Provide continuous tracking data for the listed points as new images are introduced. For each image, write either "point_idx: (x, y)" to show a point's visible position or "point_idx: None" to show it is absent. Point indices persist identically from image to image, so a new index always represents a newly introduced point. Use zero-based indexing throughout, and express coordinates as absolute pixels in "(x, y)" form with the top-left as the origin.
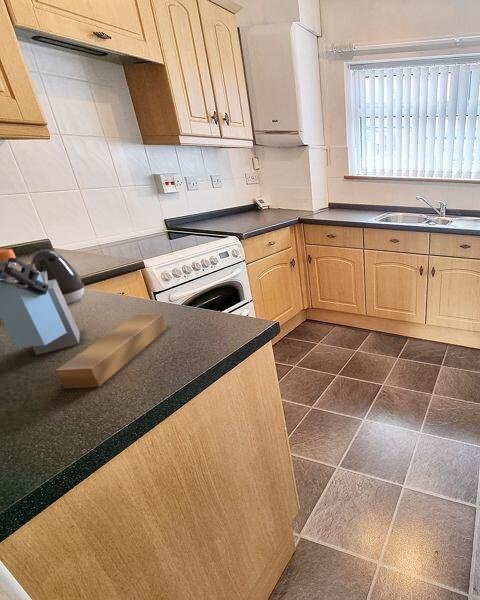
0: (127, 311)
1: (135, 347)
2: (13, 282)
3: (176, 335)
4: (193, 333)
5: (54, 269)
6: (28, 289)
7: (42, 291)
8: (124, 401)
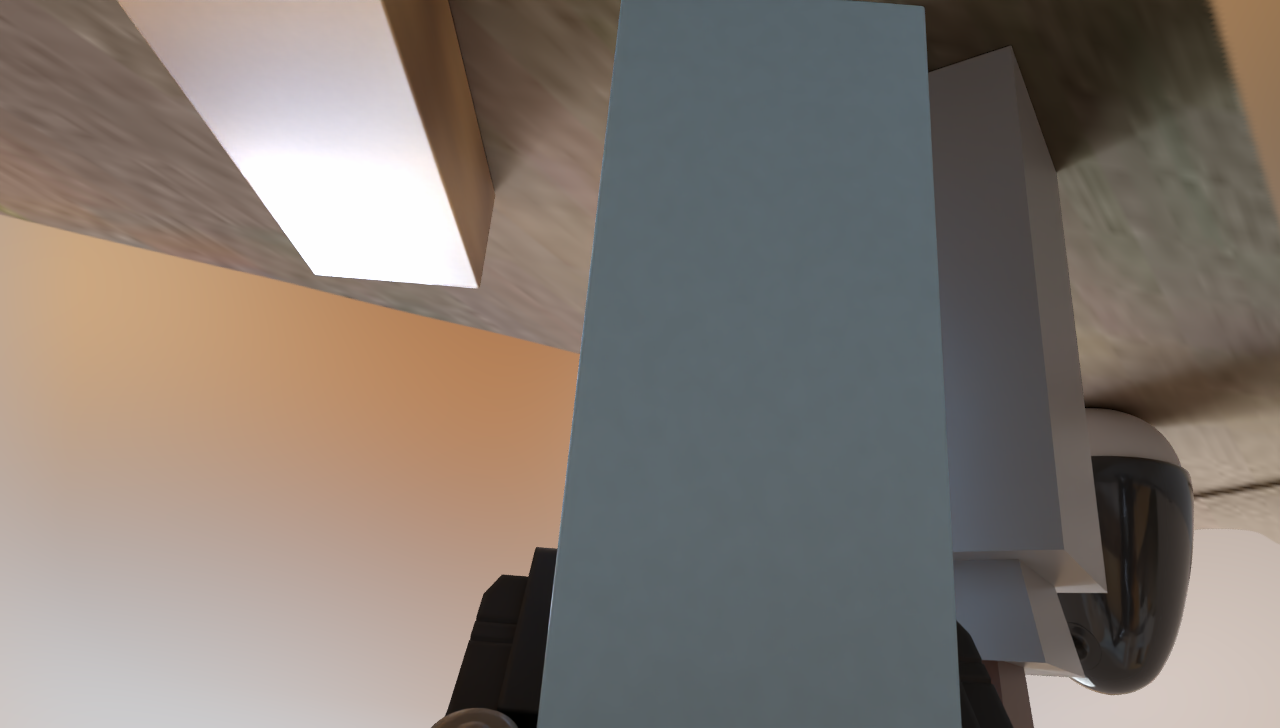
0: None
1: None
2: None
3: (187, 111)
4: (95, 114)
5: (1068, 593)
6: (520, 668)
7: (510, 595)
8: None
